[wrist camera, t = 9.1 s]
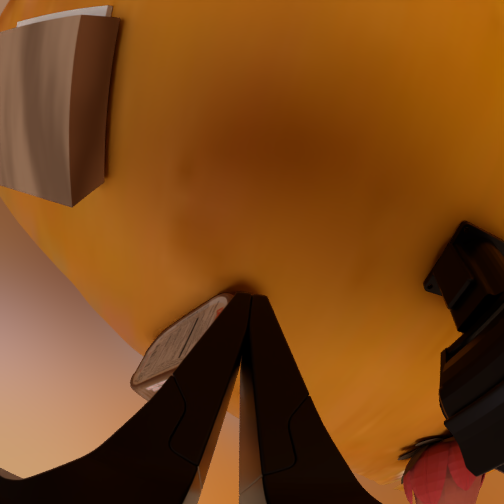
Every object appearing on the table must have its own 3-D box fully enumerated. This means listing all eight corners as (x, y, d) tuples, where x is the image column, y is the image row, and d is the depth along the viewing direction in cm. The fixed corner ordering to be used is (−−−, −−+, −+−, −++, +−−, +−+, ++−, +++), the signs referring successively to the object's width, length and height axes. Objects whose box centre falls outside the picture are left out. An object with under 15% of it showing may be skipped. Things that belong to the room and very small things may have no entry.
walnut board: (81, 14, 10) (-7, 34, 10) (72, 207, 17) (-4, 183, 17) (120, 18, 13) (31, 29, 13) (104, 182, 20) (27, 164, 20)
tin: (169, 350, 32) (143, 413, 25) (147, 334, 31) (116, 397, 24) (267, 293, 24) (250, 383, 18) (239, 269, 23) (212, 358, 17)
